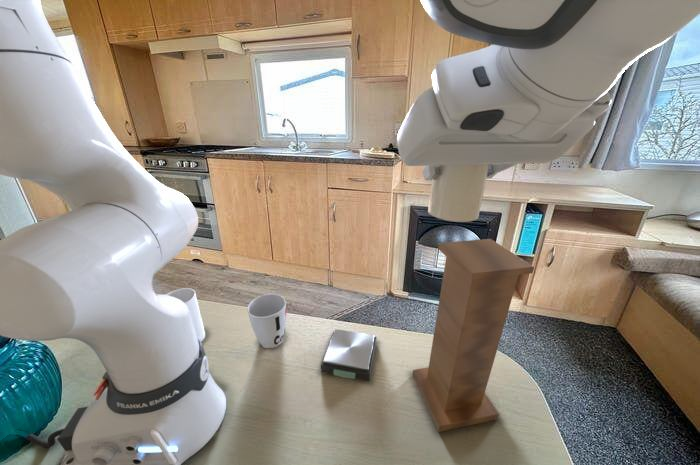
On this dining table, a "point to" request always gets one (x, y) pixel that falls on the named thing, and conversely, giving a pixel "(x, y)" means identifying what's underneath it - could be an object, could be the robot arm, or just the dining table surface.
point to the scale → (349, 355)
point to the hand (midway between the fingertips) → (456, 175)
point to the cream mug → (458, 192)
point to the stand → (468, 331)
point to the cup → (268, 319)
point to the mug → (191, 308)
